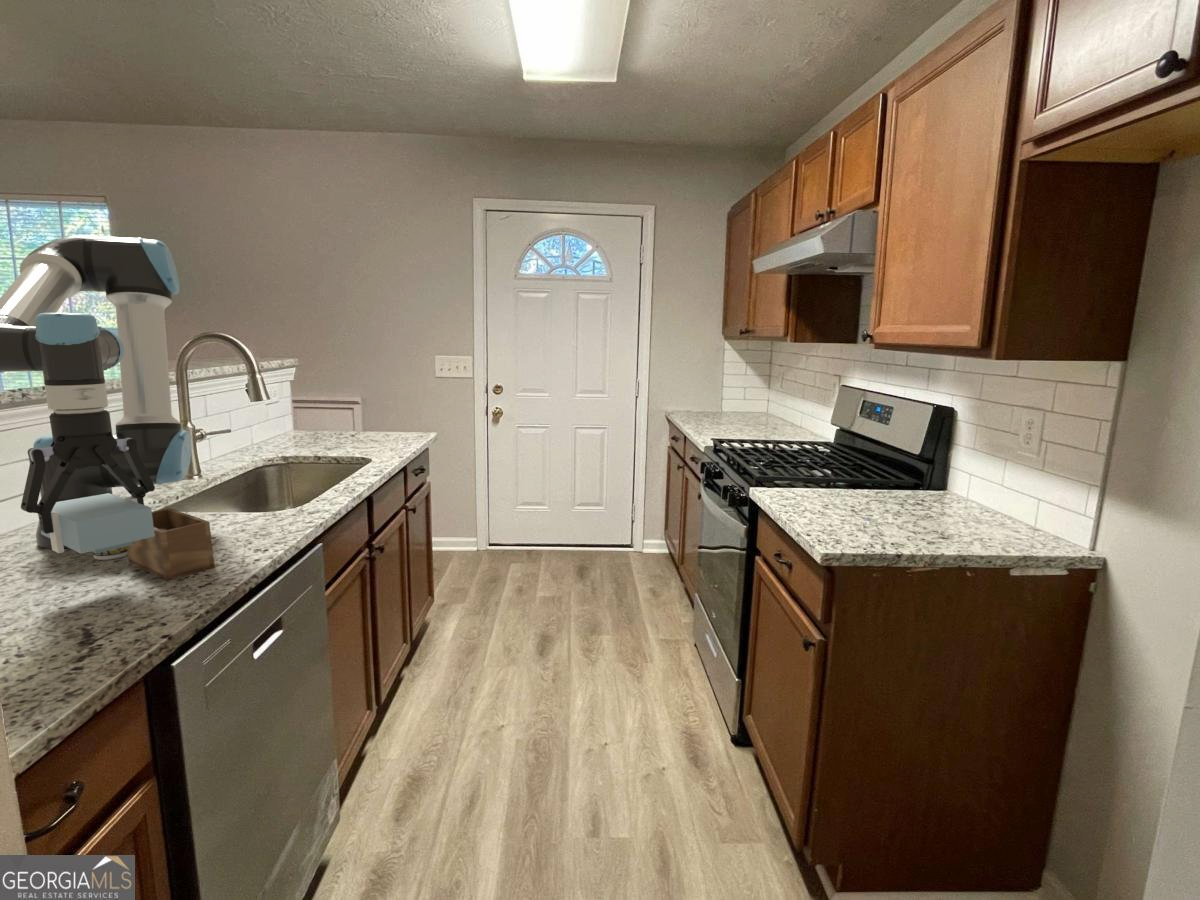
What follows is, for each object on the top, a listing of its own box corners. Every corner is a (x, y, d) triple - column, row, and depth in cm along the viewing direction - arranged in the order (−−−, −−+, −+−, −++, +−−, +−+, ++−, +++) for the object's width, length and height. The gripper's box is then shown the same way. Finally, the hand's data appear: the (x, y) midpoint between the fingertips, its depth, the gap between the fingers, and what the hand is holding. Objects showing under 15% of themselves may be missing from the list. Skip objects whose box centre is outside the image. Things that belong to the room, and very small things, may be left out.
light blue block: (42, 540, 104) (36, 505, 103) (113, 526, 112) (108, 493, 111) (81, 560, 95) (75, 522, 94) (155, 543, 103) (151, 507, 102)
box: (128, 562, 119) (122, 517, 117) (174, 550, 126) (169, 508, 124) (167, 580, 110) (161, 532, 109) (214, 567, 117) (209, 521, 115)
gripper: (-9, 419, 88) (17, 566, 92) (168, 405, 107) (183, 528, 111) (-24, 415, 92) (1, 557, 96) (149, 403, 111) (164, 521, 115)
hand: (98, 542), depth 104 cm, fingers closed on light blue block, 10 cm apart
